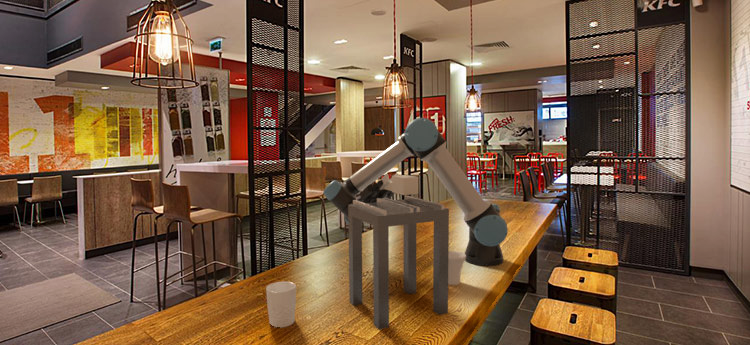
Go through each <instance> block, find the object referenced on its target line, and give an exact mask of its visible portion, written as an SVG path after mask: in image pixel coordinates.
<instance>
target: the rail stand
mask: <svg viewBox="0 0 750 345" xmlns="http://www.w3.org/2000/svg"><path fill="white" fill-rule="evenodd" d="M449 217H450V208H447V207H445V204H442V203H437V202H434V201H429V200H425V199H422V198H418V197H414V196H410V195H404V199H398V200H396V199H392V198H391V199H389V198H383V199H381V198H377V202H373V203H363V202H360V201H357V200H353V204H349V205H348V220H349V225H348V272H349V273H348V277H349V279H348V282H349V283H348V284H349V286H348V287H349V290H348V291H349V292H348V294H349V298H348V299H349V303H350V304H351V305H353V306H357V305H362V304H363V303H364V302H363V223H364V222H365V223H367V224H369V225H371V226H372V231H373V232H372V257H373V258H372V260H373V261H372V264H373V265H372V266H373V270H372V271H373V273H372V274H373V326H374V327H375V328H376V329H378V330H382V329H387V328H390V312H389V311H390V287H389V286H390V283H389V282H390V278H389V277H390V273H389V272H390V270H389V269H390V266H389V264H390V259H389V257H390V256H389V255H390V253H389V252H390V250H389V248H390V246H389V242H390V241H389V236H390V234H389V228H391V227H395V226H403V292H404V293H406V294H407V295H411V294H416V293H417V224H421V223H422V224H423V223H432V222H433V251H432V252H433V262H432V264H433V266H432V267H433V269H432V270H433V275H432V276H433V277H432V279H433V280H432V281H433V283H432V284H433V285H432V286H433V288H432V289H433V291H432V292H433V294H432V297H433V298H432V303H433V304H432V311H433V312H434V313H435V314H437V315H439V316H441V315H445V314H449V285H448V251H450V250H449V242H450V241H449V235H450V231H449V230H450V226H449V225H450V218H449ZM362 221H364V222H363V223H362Z"/></svg>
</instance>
